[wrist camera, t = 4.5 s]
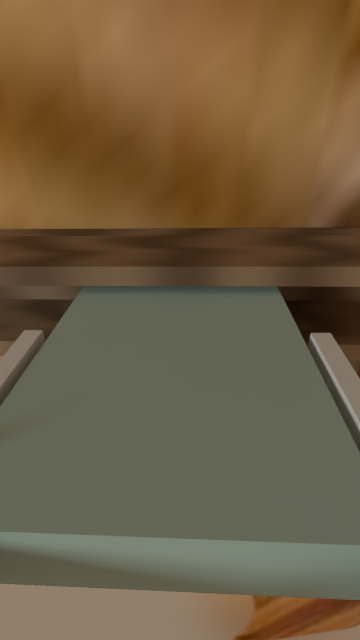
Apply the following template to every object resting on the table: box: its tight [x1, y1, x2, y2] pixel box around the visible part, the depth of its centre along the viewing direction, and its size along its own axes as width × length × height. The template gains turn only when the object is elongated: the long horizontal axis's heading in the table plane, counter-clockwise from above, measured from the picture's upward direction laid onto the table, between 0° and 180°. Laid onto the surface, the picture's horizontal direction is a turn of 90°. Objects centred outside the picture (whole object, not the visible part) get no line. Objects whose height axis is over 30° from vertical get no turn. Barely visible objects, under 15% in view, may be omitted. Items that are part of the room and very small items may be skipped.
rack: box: [0, 228, 360, 375], centre depth 22 cm, size 26×15×6 cm, turn 91°
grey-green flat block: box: [0, 286, 360, 600], centre depth 14 cm, size 10×2×16 cm, turn 91°
